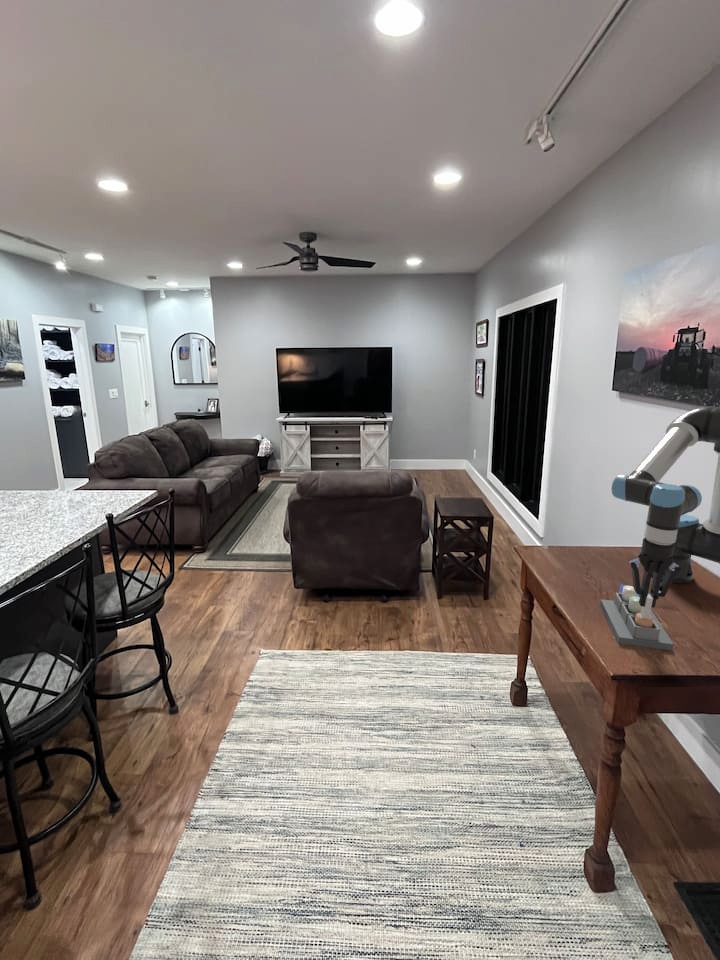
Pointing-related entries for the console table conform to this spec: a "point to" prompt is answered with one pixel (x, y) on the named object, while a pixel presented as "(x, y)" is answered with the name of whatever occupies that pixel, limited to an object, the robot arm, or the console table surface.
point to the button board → (633, 626)
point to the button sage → (634, 605)
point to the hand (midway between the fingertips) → (644, 616)
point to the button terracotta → (643, 621)
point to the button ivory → (628, 593)
